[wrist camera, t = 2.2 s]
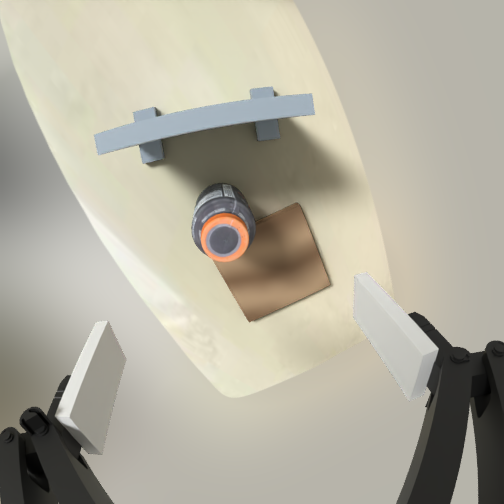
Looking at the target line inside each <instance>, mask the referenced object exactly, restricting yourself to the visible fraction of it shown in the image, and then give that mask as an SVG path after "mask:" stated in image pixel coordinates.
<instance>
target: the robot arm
mask: <svg viewBox="0 0 504 504" xmlns="http://www.w3.org/2000/svg"><path fill="white" fill-rule="evenodd" d="M353 318H354V320H355V321H356V323H357V324H358V325H359V327H360V328H361V330H362V331H363V333H364V334H365V336H366V337H367V339H368V340H369V341H370V343H371V344H372V346H373V347H374V348H375V350H376V352H377V353H378V355H379V356H380V358H381V359H382V361H383V362H384V364H385V365H386V367H387V368H388V370H389V371H390V373H391V374H392V376H393V377H394V379H395V380H396V382H397V384H398V385H399V387H400V388H401V390H402V391H403V393H404V394H405V396H406V397H407V399H408V401H411V400H414V399H416V398H418V397H421V396H423V395H424V393H425V390H426V387H428V388H429V390H430V391H431V394H430V396H429V399H428V401H427V404H426V406H425V407H427V410H426V414H425V418H424V422H423V426H422V430H421V433H420V437H419V440H418V444H417V447H416V450H415V454H414V457H413V460H412V463H411V466H410V469H409V472H408V474H407V477H406V480H405V483H404V486H403V488H402V491H401V493H400V496H399V498H398V500H397V503H396V504H450V502H451V499H452V495H453V492H454V488H455V484H456V480H457V476H458V472H459V468H460V463H461V458H462V453H463V448H464V442H465V436H466V430H467V422H468V415H469V406H471V412H472V418H473V425H474V433H475V443H476V453H477V467H478V496H479V497H478V501H479V502H478V504H504V343H503V342H501V341H491V342H489V343H488V344H487V346H486V348H485V351H482V352H476V353H469V351H467V350H466V349H464V348H460V347H452V346H451V344H450V343H449V342H448V341H447V340H446V339H445V338H444V337H443V336H442V335H441V334H440V333H439V332H438V331H437V330H435V327H434V326H433V325H432V324H430V322H429V321H428V320H427V319H426V318H425V317H424V316H422V315H420V314H418V313H416V312H413V313H410V314H407V313H406V312H405V311H404V310H403V309H402V308H401V307H400V306H399V305H398V304H397V303H396V302H395V301H394V299H393V298H392V297H391V296H390V295H389V294H388V293H387V292H386V291H385V290H384V289H383V288H382V287H381V286H380V285H379V284H378V283H377V282H376V281H375V280H374V279H373V278H372V277H371V276H370V275H369V274H368V273H367V272H366V273H361V274H357V275H354V307H353ZM125 362H126V357H125V355H124V353H123V351H122V349H121V347H120V345H119V343H118V341H117V339H116V337H115V334H114V332H113V330H112V328H111V326H110V323H109V321H101V322H96V324H95V326H94V328H93V330H92V332H91V334H90V336H89V338H88V340H87V342H86V344H85V346H84V349H83V351H82V353H81V355H80V357H79V359H78V361H77V364H76V366H75V368H74V370H73V373H72V375H67V376H66V377H65V378H64V379H63V380H62V382H61V383H60V385H59V387H58V390H57V392H56V394H55V398H54V399H53V401H52V404H51V406H50V409H49V411H48V414H47V416H46V415H45V414H44V412H43V411H42V410H41V409H40V408H38V407H31V408H28V409H27V410H26V411H24V413H23V414H22V415H21V417H20V425H21V426H22V427H23V428H24V429H25V431H26V433H22V434H20V433H19V432H18V431H17V430H16V429H15V428H13V427H8V428H6V429H4V430H3V431H2V433H1V434H0V498H1V504H58V502H59V504H114V503H113V502H112V500H111V499H110V498H109V496H108V495H107V493H106V492H105V490H104V489H103V487H102V486H101V484H100V483H99V481H98V480H97V478H96V477H95V475H94V474H93V472H92V470H91V469H90V467H89V465H88V464H87V462H86V460H85V459H84V457H83V456H82V455H81V454H80V451H81V447H82V448H83V449H84V450H85V451H86V452H87V453H88V454H100V455H102V454H103V449H104V444H105V440H106V436H107V431H108V426H109V423H110V418H111V414H112V410H113V406H114V402H115V398H116V395H117V391H118V387H119V383H120V379H121V376H122V372H123V369H124V365H125Z"/></svg>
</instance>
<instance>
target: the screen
mask: <svg viewBox="0 0 504 504" xmlns="http://www.w3.org/2000/svg"><path fill="white" fill-rule="evenodd" d="M250 95H251V99H250V100H242V101H235V102H229V103H222V104H216V105H211V106H205V107H200V108H195V109H190V110H185V111H180V112H175V113H171V114H167V115H162V116H158V117H157V113H156V108H155V107H152V108H148V109H144V110H140V111H136V112H133V115H134V121H135V123H131V124H128V125H124V126H121V127H117V128H114V129H111V130H107V131H104V132H101V133H98V134H95V135H94V137H95V142H96V147H97V152H98V155H101V154H105V153H108V152H112V151H116V150H120V149H124V148H128V147H132V146H136V145H139V148H140V153H141V158H142V162H143V164H144V163H148V162H152V161H156V160H161V159H164V158H165V157H164V152H163V147H162V141H161V139H165V138H169V137H174V136H179V135H183V134H188V133H193V132H198V131H203V130H208V129H214V128H220V127H226V126H232V125H238V124H245V123H252V122H255V127H256V133H257V140H258V141H263V140H271V139H279V138H280V133H279V126H278V119H283V118H290V117H298V116H306V115H315V111H314V104H313V97H312V94H299V95H286V96H276V97H274V92H273V87H263V88H255V89H250Z"/></svg>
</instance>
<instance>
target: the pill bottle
mask: <svg viewBox="0 0 504 504" xmlns="http://www.w3.org/2000/svg"><path fill="white" fill-rule="evenodd" d="M255 233H256V224H255V219H254V216H253V214H252V212H251V210H250V208H249V206H248V203H247V201H246V199H245V198H244V196H243V194H242V193H241V192H240V191H239V190H238V189H237V188H236V187H234V186H232V185H229V184H225V183H218V184H213V185H211V186H209V187H207V188H206V189H205V190H203V191H202V192H201V194H200V195H199V197H198V199H197V202H196V206H195V210H194V214H193V221H192V237H193V240H194V242H195V244H196V246H197V247H198V248H199V249H200V250H201V251H202V252H203V253H204V254H206V255H207V256H209V257H210V258H212V259H213V260H215V261H218V262H231V261H234V260H236V259H238V258H239V257H241V256H242V255H243V254H244V252H245V251H246V250H247V249H248V248H249V247H250V245H251V244H252V242H253V240H254V237H255Z"/></svg>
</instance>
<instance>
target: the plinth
mask: <svg viewBox="0 0 504 504" xmlns="http://www.w3.org/2000/svg"><path fill="white" fill-rule="evenodd" d="M255 224H256V233H255V237H254V240H253V242H252V244H251V245H250V247H249V248H248V249H247V250H246V251H245V252H244V254H243V255H242V256H241V257H239V258H238V259H236V260H234V261H231V262H218V261H215V260H213V261H214V263H215V265H216V266H217V268H218V270H219V272H220V273H221V275H222V277H223V279H224V280H225V282H226V284H227V286H228V287H229V289H230V291H231V292H232V294H233V296H234V298H235V299H236V301H237V303H238V304H239V306H240V308H241V310H242V311H243V313H244V315H245V316H246V318H247V320H248V321H249V322H251V321H254V320H256V319H258V318H260V317H263V316H265V315H267V314H269V313H272V312H274V311H276V310H278V309H280V308H283V307H285V306H287V305H289V304H291V303H293V302H296V301H298V300H300V299H302V298H304V297H306V296H308V295H310V294H312V293H315V292H317V291H319V290H321V289H323V288H325V287H327V286H329V285H330V282H329V280H328V277H327V274H326V271H325V269H324V266H323V263H322V261H321V258H320V255H319V253H318V250H317V247H316V245H315V242H314V240H313V237H312V235H311V232H310V229H309V227H308V224H307V222H306V219H305V217H304V214H303V212H302V209H301V207H300V205H299V204H298V203H295V204H293V205H290V206H288V207H286V208H284V209H282V210H280V211H278V212H275V213H273V214H271V215H269V216H267V217H265V218H263V219H260V220H258V221H256V222H255Z"/></svg>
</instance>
